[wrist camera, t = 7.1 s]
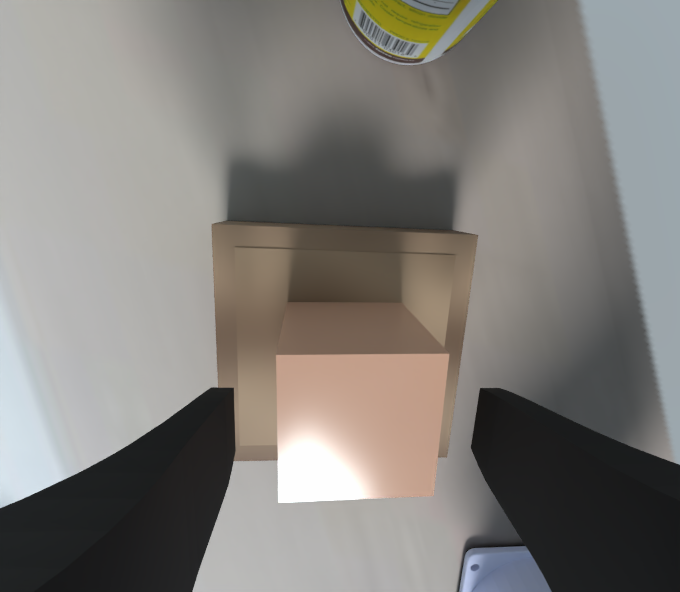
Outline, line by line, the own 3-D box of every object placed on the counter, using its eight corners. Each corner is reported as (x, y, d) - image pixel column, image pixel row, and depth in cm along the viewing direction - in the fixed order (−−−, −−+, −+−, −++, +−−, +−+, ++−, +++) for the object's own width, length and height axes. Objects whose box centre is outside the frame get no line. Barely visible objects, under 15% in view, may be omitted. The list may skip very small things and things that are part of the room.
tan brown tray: (429, 424, 19) (447, 457, 16) (232, 426, 18) (220, 462, 15) (453, 230, 16) (478, 235, 14) (226, 220, 15) (211, 224, 13)
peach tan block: (394, 404, 15) (433, 495, 11) (288, 406, 15) (278, 502, 10) (401, 302, 14) (449, 353, 9) (287, 301, 14) (275, 354, 9)
